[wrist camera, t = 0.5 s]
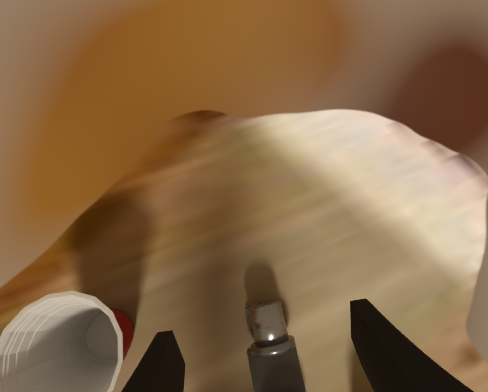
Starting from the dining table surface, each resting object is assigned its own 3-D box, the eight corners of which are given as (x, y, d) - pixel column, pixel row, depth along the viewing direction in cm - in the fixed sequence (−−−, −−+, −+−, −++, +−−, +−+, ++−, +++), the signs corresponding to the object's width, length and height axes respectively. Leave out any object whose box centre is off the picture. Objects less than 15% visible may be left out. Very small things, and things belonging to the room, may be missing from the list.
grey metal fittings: (318, 448, 34) (334, 478, 29) (268, 463, 33) (276, 496, 28) (283, 297, 38) (293, 300, 33) (238, 307, 37) (241, 312, 32)
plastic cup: (141, 273, 38) (105, 273, 26) (165, 360, 35) (136, 403, 24) (54, 304, 36) (-26, 318, 24) (72, 398, 33) (-7, 463, 22)
